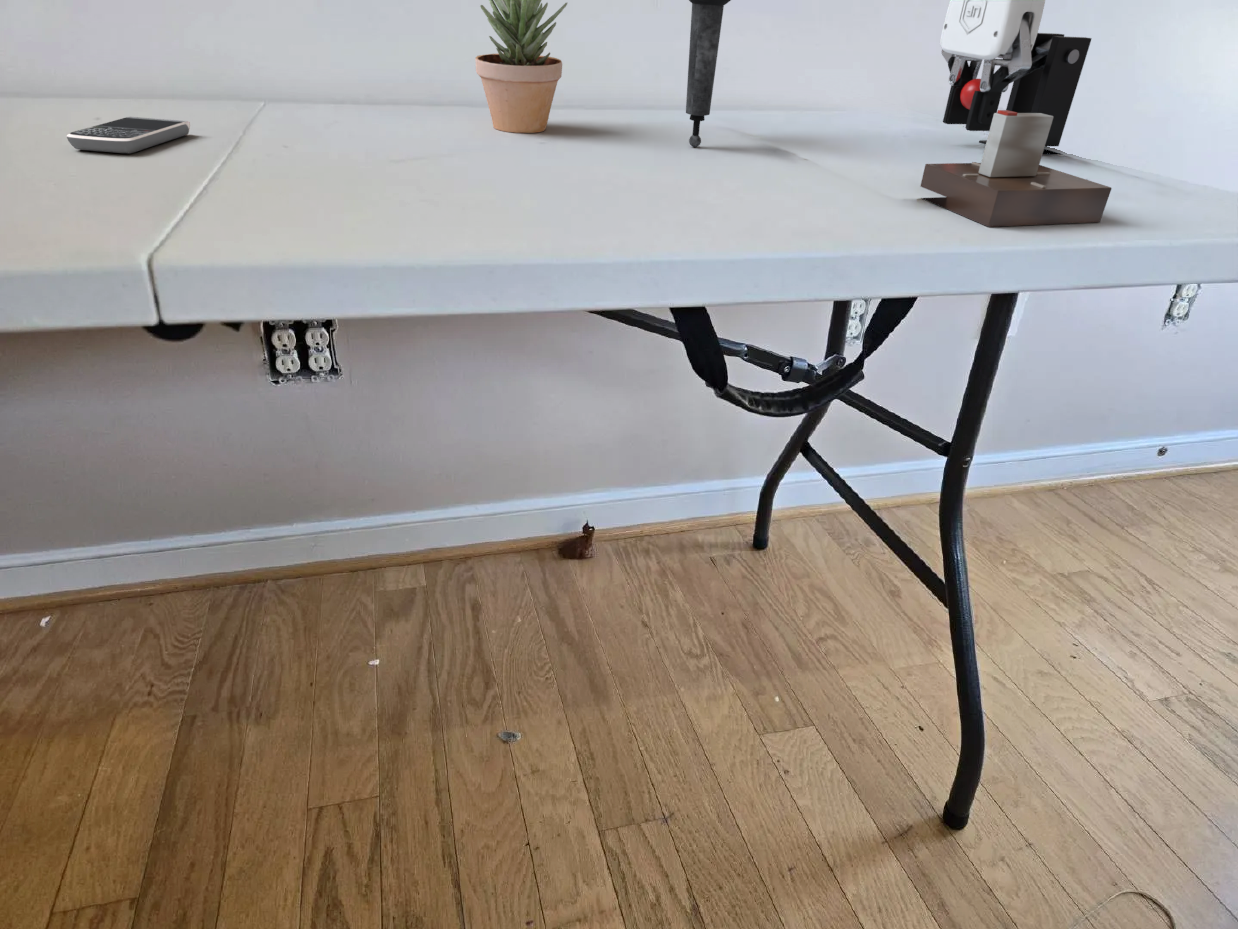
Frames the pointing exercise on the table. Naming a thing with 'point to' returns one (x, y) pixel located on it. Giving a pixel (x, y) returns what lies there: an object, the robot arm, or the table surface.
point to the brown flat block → (1015, 196)
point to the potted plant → (519, 67)
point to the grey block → (1015, 144)
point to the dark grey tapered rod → (702, 60)
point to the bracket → (1051, 83)
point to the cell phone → (128, 134)
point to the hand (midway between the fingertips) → (967, 125)
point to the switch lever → (1037, 63)
